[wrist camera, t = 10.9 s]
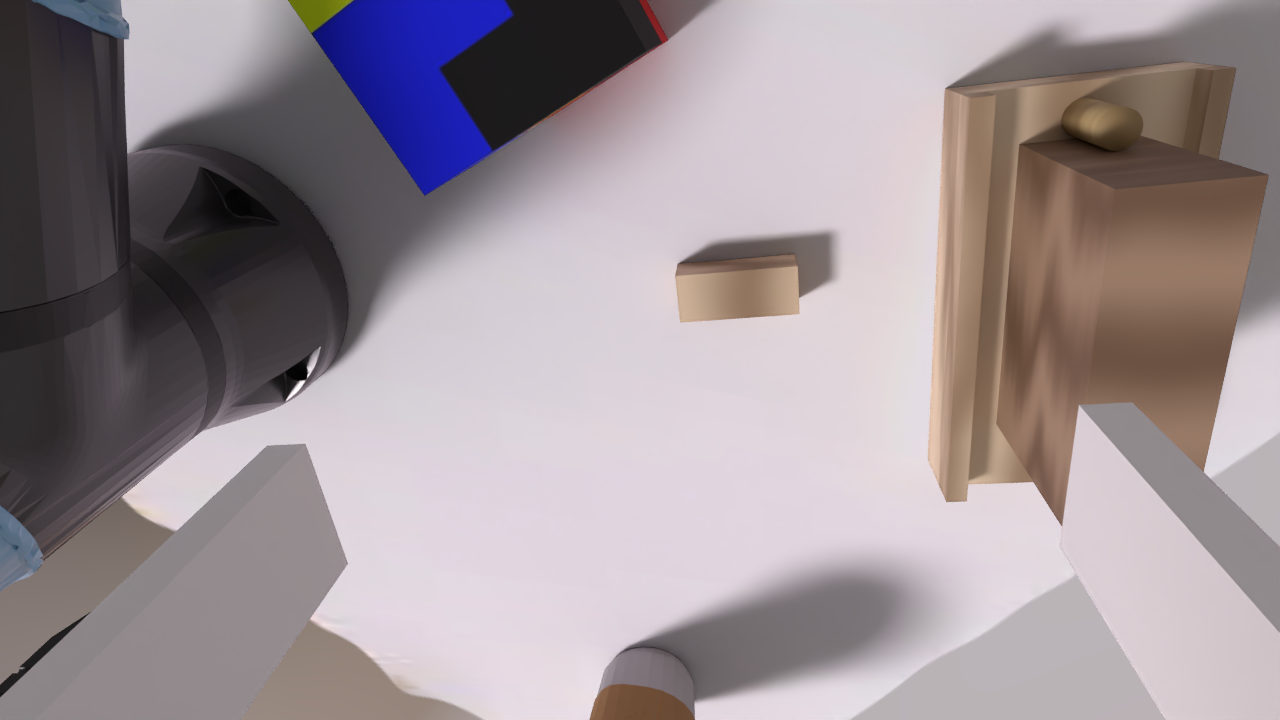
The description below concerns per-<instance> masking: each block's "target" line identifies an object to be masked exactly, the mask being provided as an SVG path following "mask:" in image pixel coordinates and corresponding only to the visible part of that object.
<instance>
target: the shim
mask: <svg viewBox="0 0 1280 720" xmlns="http://www.w3.org/2000/svg"><path fill="white" fill-rule="evenodd" d="M675 278H676V287H677V297H678V306H679V316H680V322H693V321H708V320H722V319H736V318H750V317H764V316H778V315H792V314H799V287H798V265H797V261H796V257H795V254H790V255H778V256H766V257H754V258H742V259H730V260H718V261H706V262H693V263H681V264H678V265H677V270H676V275H675Z"/></svg>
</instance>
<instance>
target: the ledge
mask: <svg viewBox="0 0 1280 720" xmlns="http://www.w3.org/2000/svg"><path fill="white" fill-rule="evenodd" d="M1235 72H1236V68H1234V67H1225V66H1217V65H1208V64H1200V63H1191V62H1178V63H1169V64H1160V65H1151V66H1142V67H1134V68H1125V69H1116V70H1107V71H1098V72H1089V73H1080V74H1071V75H1062V76H1053V77H1044V78H1035V79H1026V80H1017V81H1008V82H1000V83H991V84H982V85H973V86H964V87H955V88H946V89H945V99H944V121H943V143H942V165H941V187H940V209H939V231H938V253H937V275H936V297H935V319H934V341H933V363H932V385H931V407H930V429H929V451H928V461H929V463H930V466H931V468H932V470H933V472H934V475H935V477H936V479H937V482H938V484H939V486H940V488H941V491H942V493H943V495H944V498H945V500H946V502H961V501H967V490H968V484H991V483H1019V482H1033V481H1032V479H1031V477H1030V476H1029V474H1028V473H1027V471H1026V470H1025V468H1024V467H1023V465H1022V463H1021V462H1020V460H1019V459H1018V457H1017V456H1016V454H1015V452H1014V451H1013V449H1012V448H1011V446H1010V445H1009V443H1008V442H1007V440H1006V438H1005V437H1004V435H1003V434H1002V432H1001V431H1000V429H999V428H998V426H997V424H996V421H997V409H998V397H999V385H1000V372H1001V360H1002V348H1003V336H1004V324H1005V311H1006V299H1007V287H1008V275H1009V262H1010V250H1011V238H1012V226H1013V214H1014V201H1015V189H1016V177H1017V165H1018V152H1019V144H1028V143H1037V142H1047V141H1056V140H1066V139H1075V138H1078V139H1081V140H1083V141H1086V142H1089V143H1091V144H1094V145H1097V146H1099V147H1102V148H1105V149H1108V150H1111V151H1120V150H1123V149H1126V148H1128V147H1130V146H1131V145H1132V144H1134V143H1135V142H1136V141H1137V139H1138V138H1139V137H1140V135H1141V136H1144V137H1147V138H1151V139H1154V140H1157V141H1160V142H1164V143H1167V144H1170V145H1173V146H1177V147H1180V148H1183V149H1186V150H1190V151H1193V152H1196V153H1199V154H1202V155H1206V156H1209V157H1212V158H1215V159H1219V154H1220V148H1221V143H1222V138H1223V133H1224V128H1225V123H1226V118H1227V113H1228V108H1229V102H1230V97H1231V92H1232V87H1233V82H1234V77H1235Z"/></svg>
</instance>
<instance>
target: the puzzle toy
mask: <svg viewBox="0 0 1280 720" xmlns="http://www.w3.org/2000/svg"><path fill="white" fill-rule="evenodd" d="M288 1H289V2H290V4H291V5H292V7H293V8H294V10H295V11H296V12H297V14H298V15H299V17H300V18H301V20H302V21H303V22H304V24H305V25H306V27H307V28H308V30H309V31H310V32H311V34H312V35H313V37H314V38H315V40H316V41H317V42H318V44H319V45H320V47H321V48H322V50H323V51H324V53H325V54H326V55H327V57H328V58H329V60H330V61H331V63H332V64H333V65H334V67H335V68H336V70H337V71H338V73H339V74H340V75H341V77H342V78H343V80H344V81H345V83H346V84H347V85H348V87H349V88H350V90H351V91H352V93H353V94H354V95H355V97H356V98H357V100H358V101H359V103H360V104H361V105H362V107H363V108H364V110H365V111H366V113H367V114H368V115H369V117H370V118H371V120H372V121H373V123H374V124H375V125H376V127H377V128H378V130H379V131H380V133H381V134H382V135H383V137H384V138H385V140H386V141H387V143H388V144H389V145H390V147H391V148H392V150H393V151H394V153H395V154H396V155H397V157H398V158H399V160H400V161H401V163H402V164H403V165H404V167H405V168H406V170H407V171H408V173H409V174H410V176H411V177H412V178H413V180H414V181H415V183H416V184H417V186H418V187H419V188H420V190H421V191H422V193H423V194H424V196H425V195H427V194H428V193H430V192H432V191H433V190H435V189H437V188H438V187H440V186H441V185H443V184H445V183H446V182H448V181H450V180H451V179H453V178H455V177H456V176H458V175H459V174H461V173H463V172H464V171H466V170H468V169H469V168H471V167H473V166H474V165H476V164H477V163H479V162H481V161H482V160H484V159H486V158H487V157H489V156H491V155H492V154H494V153H495V152H497V151H499V150H500V149H502V148H503V147H505V146H506V145H508V144H509V143H511V142H513V141H514V140H516V139H517V138H519V137H520V136H522V135H523V134H525V133H526V132H528V131H529V130H531V129H532V128H534V127H536V126H537V125H539V124H540V123H542V122H543V121H545V120H546V119H548V118H549V117H551V116H552V115H554V114H556V113H557V112H559V111H560V110H562V109H563V108H565V107H566V106H568V105H569V104H571V103H572V102H574V101H576V100H577V99H579V98H580V97H582V96H583V95H585V94H586V93H588V92H589V91H591V90H592V89H594V88H595V87H597V86H599V85H600V84H602V83H603V82H605V81H606V80H608V79H609V78H611V77H612V76H614V75H615V74H617V73H619V72H620V71H622V70H623V69H625V68H626V67H628V66H629V65H631V64H632V63H634V62H635V61H637V60H639V59H640V58H642V57H643V56H645V55H646V54H648V53H649V52H651V51H652V50H654V49H655V48H657V47H658V46H660V45H662V44H663V43H665V42H666V41H668V39H667V37H666V35H665V33H664V32H663V30H662V28H661V26H660V24H659V22H658V20H657V19H656V17H655V15H654V13H653V11H652V9H651V8H650V6H649V4H648V2H647V0H288Z"/></svg>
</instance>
